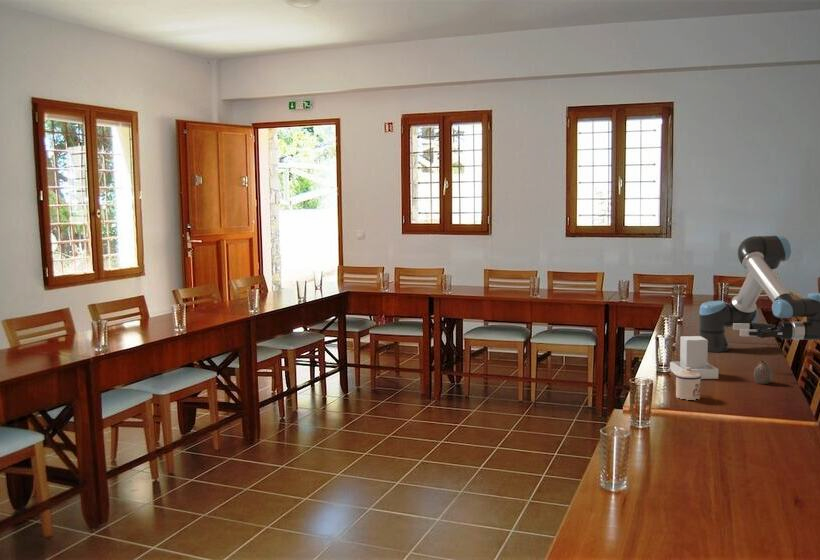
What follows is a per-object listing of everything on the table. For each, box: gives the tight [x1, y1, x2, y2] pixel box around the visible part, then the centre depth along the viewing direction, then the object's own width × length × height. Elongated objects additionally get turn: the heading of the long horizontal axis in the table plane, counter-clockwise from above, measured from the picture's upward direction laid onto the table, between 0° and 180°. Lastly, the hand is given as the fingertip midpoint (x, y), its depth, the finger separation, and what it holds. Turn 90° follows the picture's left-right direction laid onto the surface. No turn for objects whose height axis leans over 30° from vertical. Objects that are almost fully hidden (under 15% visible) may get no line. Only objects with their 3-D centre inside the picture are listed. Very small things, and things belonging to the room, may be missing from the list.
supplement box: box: [679, 335, 708, 369], centre depth 314 cm, size 9×9×15 cm
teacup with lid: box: [675, 367, 702, 401], centre depth 281 cm, size 12×9×12 cm
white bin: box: [669, 361, 719, 380], centre depth 315 cm, size 15×15×4 cm
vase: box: [753, 360, 773, 385], centre depth 298 cm, size 7×7×9 cm
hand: (736, 329), depth 314 cm, fingers open, 13 cm apart
